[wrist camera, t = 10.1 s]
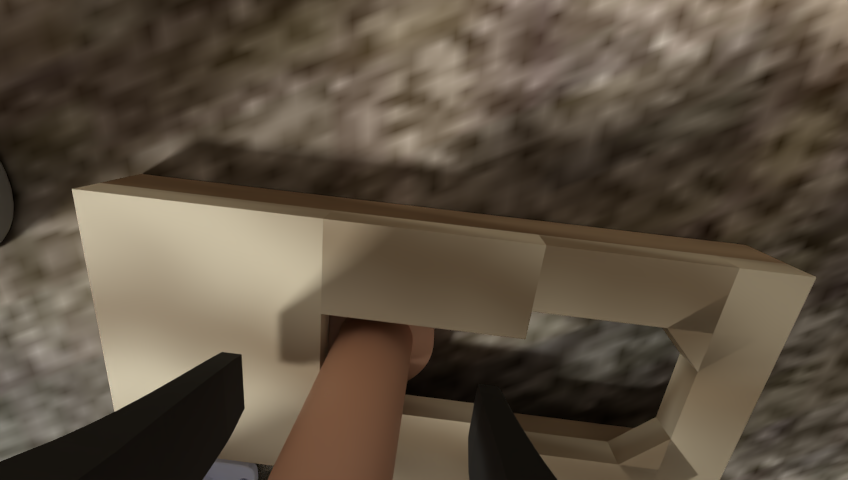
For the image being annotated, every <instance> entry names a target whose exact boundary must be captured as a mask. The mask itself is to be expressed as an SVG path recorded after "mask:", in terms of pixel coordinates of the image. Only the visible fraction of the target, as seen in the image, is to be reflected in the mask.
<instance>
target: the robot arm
mask: <svg viewBox="0 0 848 480" xmlns="http://www.w3.org/2000/svg"><path fill="white" fill-rule="evenodd" d="M244 409H245V406H244V388H243V370H242V354H235V353H227V352H221V353H219V354H217V355H215V356H213V357H212V358H210V359H208V360H206V361H205V362H203V363H201V364H199V365H198V366H196V367H194V368H193V369H191V370H189V371H187V372H186V373H184V374H182V375H181V376H179V377H177V378H175V379H174V380H172V381H170V382H168V383H167V384H165V385H163V386H161V387H160V388H158V389H156V390H154V391H153V392H151V393H149V394H147V395H145V396H143V397H142V398H140V399H138V400H136V401H134V402H132V403H130V404H128V405H126V406H125V407H123V408H121V409H119V410H117V411H115V412H113V413H111V414H109V415H107V416H105V417H103V418H101V419H99V420H97V421H95V422H93V423H91V424H89V425H87V426H85V427H82V428H80V429H78V430H76V431H74V432H71V433H69V434H67V435H65V436H63V437H60V438H58V439H56V440H53V441H51V442H48V443H46V444H43V445H41V446H38V447H36V448H33V449H31V450H28V451H26V452H23V453H21V454H18V455H16V456H13V457H11V458H8V459H6V460H3V461H1V462H0V480H258V468H257V465H256V464H255V463H249V462H241V461H233V460H226V459H218V458H217V457H218V456H219V454H220V453H221V451H222V450H223V448H224V447H225V445H226V444H227V442H228V440H229V439H230V437H231V435H232V433H233V431H234V429H235V427H236V425H237V423H238V421H239V419H240V417H241V415H242V413H243V411H244ZM468 473H469V480H557V478H556V477H555V476H554V474H553V473H552V472H551V470H550V469H549V467H548V466H547V465H546V463H545V462H544V460H543V459H542V458H541V456H540V455H539V453H538V452H537V450H536V449H535V447H534V446H533V444H532V442H531V441H530V439H529V438H528V436H527V435H526V433H525V432H524V430H523V428H522V427H521V425H520V423H519V422H518V420H517V418H516V417H515V415H514V413H513V411H512V410H511V408H510V406H509V404H508V402H507V401H506V399H505V397H504V395H503V393H502V391H501V390H500V388H499V387H498V386H490V385H482V384H478V385H477V391H476V396H475V402H474V407H473V413H472V418H471V424H470V429H469V434H468Z"/></svg>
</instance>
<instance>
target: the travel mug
mask: <svg viewBox="0 0 848 480" xmlns="http://www.w3.org/2000/svg"><path fill="white" fill-rule="evenodd" d="M13 211H14V201H13V195H12V188H11V186H10V183H9V180H8V177H7V174H6V172H5V170H4V168H3V166H2V164H1V162H0V243H1V242H2V241H3V239H4V238H5V236H6V235H7V233H8V231H9V230H10V226H11V223H12V220H13Z"/></svg>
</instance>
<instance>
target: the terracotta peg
mask: <svg viewBox="0 0 848 480" xmlns="http://www.w3.org/2000/svg"><path fill="white" fill-rule="evenodd" d="M433 346H434V328H431V327H423V326H415V325H407V324H398V323H390V322H382V321H374V320H366V319H358V318H350V317H342V316H334V315H329V341H328V355H327V357H326V359H325V361H324V363H323V365H322V367H321V369H320V372H319V374H318V376H317V378H316V380H315V382H314V384H313V386H312V388H311V390H310V392H309V394H308V396H307V398H306V400H305V403H304V405H303V407H302V409H301V411H300V413H299V415H298V417H297V419H296V421H295V423H294V425H293V427H292V429H291V431H290V434H289V436H288V438H287V440H286V442H285V444H284V446H283V448H282V450H281V452H280V454H279V456H278V458H277V460H276V462H275V465H274V467H273V469H272V471H271V473H270V475H269V477H268V479H267V480H393V474H394V467H395V460H396V453H397V446H398V440H399V433H400V426H401V419H402V412H403V405H404V399H405V392H406V385H407V381H408V380H410V379H411V378H413V377H414V376H416V375H417V374H418V373H419V372H420V371H421V370H422V369H423V368H424V367H425V366H426V364H427V363H428V361H429V359H430V357H431V354H432V351H433Z"/></svg>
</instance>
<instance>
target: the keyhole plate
mask: <svg viewBox="0 0 848 480" xmlns="http://www.w3.org/2000/svg"><path fill="white" fill-rule="evenodd" d="M72 193H73V198H74V203H75V209H76V214H77V219H78V224H79V229H80V235H81V240H82V245H83V250H84V255H85V261H86V266H87V271H88V276H89V281H90V287H91V292H92V297H93V302H94V307H95V313H96V318H97V323H98V328H99V333H100V339H101V344H102V349H103V354H104V359H105V365H106V370H107V375H108V380H109V385H110V391H111V396H112V401H113V406H114V411H117V410H119V409H121V408H123V407H125V406H126V405H128V404H130V403H132V402H134V401H136V400H138V399H140V398H142V397H143V396H145V395H147V394H149V393H151V392H153V391H154V390H156V389H158V388H160V387H161V386H163V385H165V384H167V383H168V382H170V381H172V380H174V379H175V378H177V377H179V376H181V375H182V374H184V373H186V372H187V371H189V370H191V369H193V368H194V367H196V366H198V365H199V364H201V363H203V362H205V361H206V360H208V359H210V358H212V357H213V356H215V355H217V354H219V353H221V352H227V353H235V354H242V370H243V388H244V406H245V409H244V411H243V413H242V415H241V417H240V419H239V421H238V423H237V425H236V427H235V429H234V431H233V433H232V435H231V437H230V439H229V440H228V442H227V444H226V445H225V447H224V448H223V450H222V451H221V453H220V454H219V456H218V457H217V458H218V459H226V460H233V461H241V462H249V463H256V464H264V465H271V466H274V465H275V462H276V460H277V458H278V456H279V454H280V452H281V450H282V448H283V446H284V444H285V442H286V440H287V438H288V436H289V434H290V431H291V429H292V427H293V425H294V423H295V421H296V419H297V417H298V415H299V413H300V411H301V409H302V407H303V405H304V403H305V400H306V398H307V396H308V394H309V392H310V390H311V388H312V386H313V384H314V382H315V380H316V378H317V376H318V374H319V372H320V369H321V367H322V365H323V363H324V361H325V359H326V357H327V355H328V341H329V315H334V316H342V317H350V318H358V319H366V320H374V321H382V322H390V323H398V324H407V325H415V326H423V327H431V328H439V329H447V330H455V331H463V332H471V333H479V334H488V335H496V336H504V337H512V338H520V339H526V334H527V330H528V325H529V321H530V316H531V312H539V313H547V314H556V315H564V316H572V317H580V318H588V319H597V320H605V321H613V322H621V323H629V324H638V325H646V326H654V327H662V328H663V330H664V331H665V333H666V334H667V335H668V337H669V338H670V340H671V341H672V342H673V344H674V345H675V347H676V348H677V349H678V351H679V352H680V355H679V357H678V360H677V363H676V365H675V368H674V371H673V373H672V376H671V379H670V381H669V384H668V386H667V389H666V392H665V394H664V397H663V400H662V402H661V405H660V408H659V410H658V413H657V416H656V417H655V418H653V419H651V420H649V421H647V422H645V423H643V424H641V425H639V426H637V427H635V428H628V427H621V426H613V425H605V424H597V423H589V422H581V421H573V420H565V419H558V418H550V417H542V416H534V415H526V414H518V413H514V415H515V417H516V418H517V420H518V422H519V423H520V425H521V427H522V428H523V430H524V432H525V433H526V435H527V436H528V438H529V439H530V441H531V442H532V444H533V446H534V447H535V449H536V450H537V452H538V453H539V455H540V456H541V458H542V459H543V460H544V462H545V463H546V465H547V466H548V467H549V469H550V470H551V472H552V473H553V474H554V476H555V477H556V478H557V480H720V478H721V476H722V474H723V472H724V470H725V468H726V466H727V464H728V462H729V460H730V457H731V455H732V453H733V451H734V449H735V447H736V445H737V443H738V441H739V439H740V437H741V434H742V432H743V430H744V428H745V426H746V424H747V422H748V420H749V418H750V416H751V414H752V411H753V409H754V407H755V405H756V403H757V401H758V399H759V397H760V395H761V393H762V391H763V388H764V386H765V384H766V382H767V380H768V378H769V376H770V374H771V372H772V370H773V368H774V365H775V363H776V361H777V359H778V357H779V355H780V353H781V351H782V349H783V347H784V345H785V342H786V340H787V338H788V336H789V334H790V332H791V330H792V328H793V326H794V324H795V321H796V319H797V317H798V315H799V313H800V311H801V309H802V307H803V305H804V303H805V301H806V298H807V296H808V294H809V292H810V290H811V288H812V286H813V284H814V282H815V280H816V278H817V277H815V276H813V275H810V274H808V273H806V272H804V271H802V270H799V269H797V268H795V267H793V266H791V265H789V264H786V263H784V262H782V261H780V260H778V259H775V258H773V257H771V256H769V255H767V254H765V253H762V252H760V251H758V250H756V249H754V248H752V247H749V246H747V245H742V244H733V243H725V242H716V241H708V240H699V239H691V238H682V237H674V236H665V235H657V234H648V233H640V232H631V231H623V230H614V229H606V228H597V227H589V226H580V225H572V224H563V223H555V222H546V221H538V220H529V219H521V218H512V217H504V216H495V215H487V214H478V213H470V212H461V211H453V210H444V209H436V208H427V207H419V206H410V205H402V204H393V203H385V202H376V201H368V200H359V199H351V198H342V197H334V196H325V195H317V194H308V193H300V192H291V191H283V190H274V189H266V188H257V187H249V186H240V185H232V184H223V183H215V182H206V181H198V180H189V179H181V178H172V177H164V176H155V175H147V174H139V175H134V176H129V177H125V178H120V179H115V180H111V181H106V182H102V183H97V184H92V185H88V186H83V187H78V188H74V189H72ZM473 407H474V403H468V402H460V401H453V400H445V399H437V398H429V397H421V396H413V395H405V399H404V405H403V412H402V419H401V426H400V433H399V440H398V446H397V453H396V460H395V467H394V474H393V480H469V473H468V434H469V429H470V424H471V418H472V413H473Z"/></svg>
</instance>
